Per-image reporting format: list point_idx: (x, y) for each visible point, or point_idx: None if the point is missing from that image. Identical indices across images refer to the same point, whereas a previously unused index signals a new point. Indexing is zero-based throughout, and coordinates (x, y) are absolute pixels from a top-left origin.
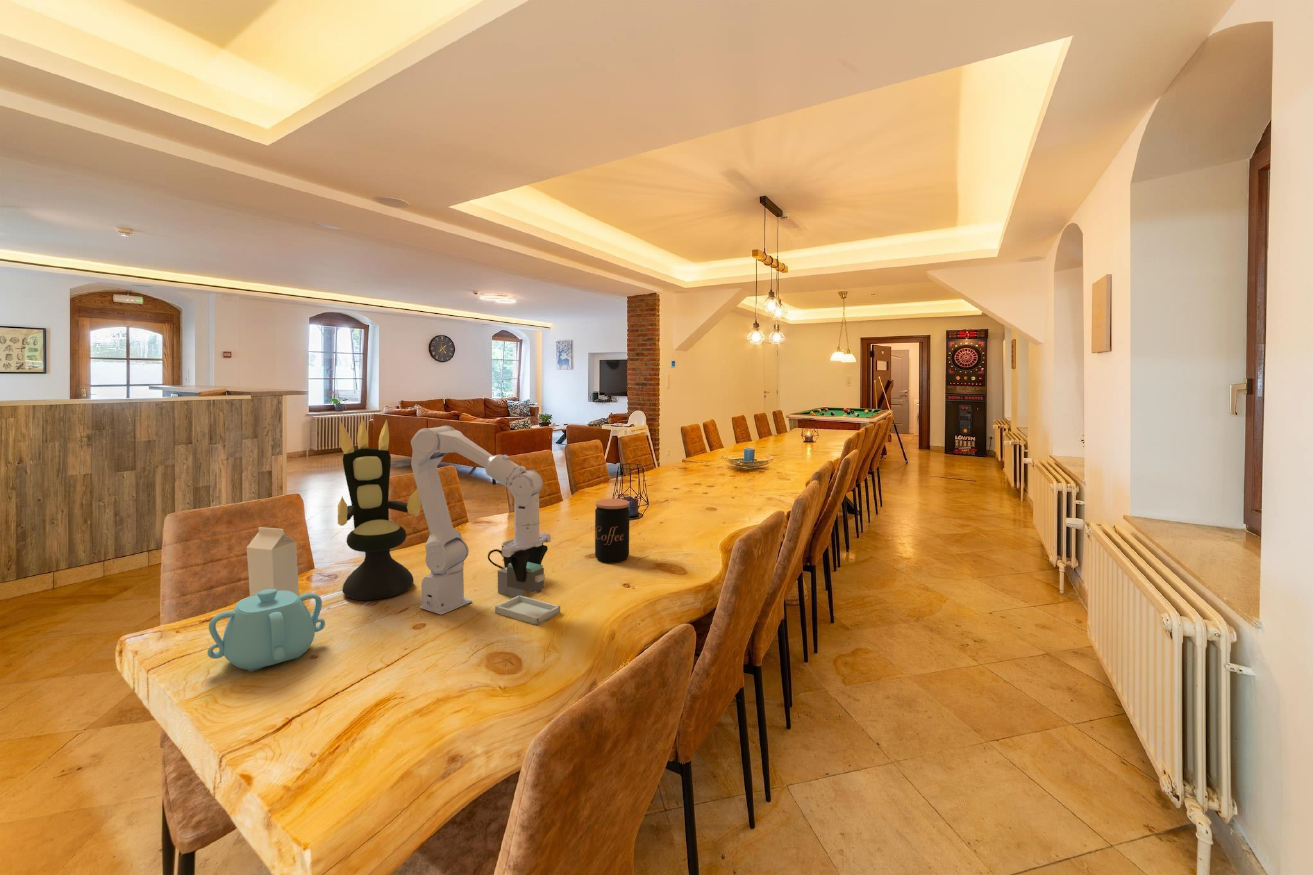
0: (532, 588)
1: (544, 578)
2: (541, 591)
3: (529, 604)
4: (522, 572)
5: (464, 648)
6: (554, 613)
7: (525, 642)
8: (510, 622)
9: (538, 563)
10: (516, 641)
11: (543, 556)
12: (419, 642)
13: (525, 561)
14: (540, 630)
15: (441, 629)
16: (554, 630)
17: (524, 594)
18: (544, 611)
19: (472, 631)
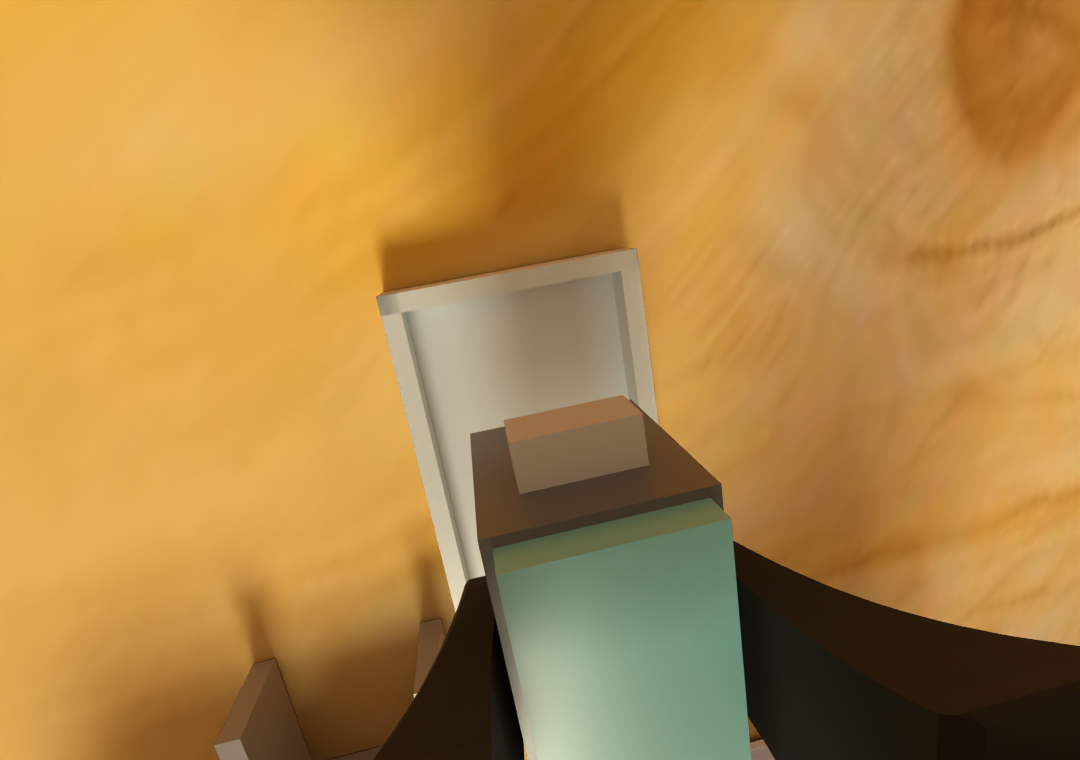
0: (644, 412)
1: (511, 423)
2: (262, 664)
3: (467, 530)
4: (788, 575)
5: (1028, 314)
6: (447, 281)
7: (820, 106)
8: (693, 407)
9: (493, 669)
10: (839, 163)
11: (386, 757)
12: (1075, 521)
13: (905, 649)
14: (655, 170)
15: (943, 576)
16: (597, 91)
17: (430, 646)
18: (468, 370)
19: (882, 455)
